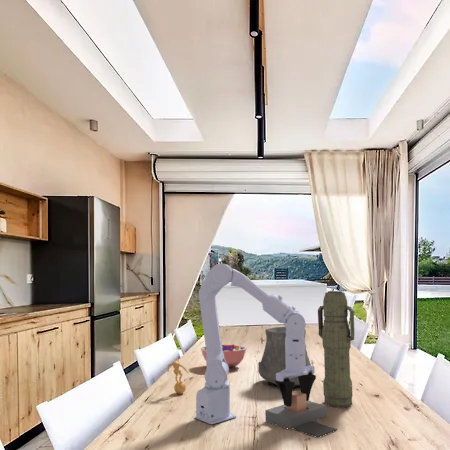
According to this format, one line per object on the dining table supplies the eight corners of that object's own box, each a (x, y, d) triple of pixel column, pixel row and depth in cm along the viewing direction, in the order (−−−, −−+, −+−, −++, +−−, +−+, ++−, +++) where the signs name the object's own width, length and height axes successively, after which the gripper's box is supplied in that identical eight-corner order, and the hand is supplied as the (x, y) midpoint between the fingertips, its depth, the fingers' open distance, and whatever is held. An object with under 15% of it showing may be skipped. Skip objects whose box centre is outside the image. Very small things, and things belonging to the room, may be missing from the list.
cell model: (247, 372, 185) (247, 344, 186) (199, 372, 185) (199, 344, 186) (246, 363, 202) (245, 337, 203) (201, 363, 202) (201, 337, 203)
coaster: (318, 438, 113) (318, 436, 113) (293, 429, 120) (293, 427, 120) (337, 430, 119) (337, 428, 119) (312, 422, 125) (312, 421, 125)
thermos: (324, 396, 149) (321, 290, 152) (360, 402, 143) (356, 291, 146) (315, 403, 142) (312, 291, 145) (352, 410, 135) (348, 292, 139)
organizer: (289, 429, 119) (289, 418, 120) (265, 421, 126) (265, 410, 126) (326, 416, 130) (326, 405, 130) (302, 409, 136) (302, 399, 137)
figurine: (193, 393, 154) (193, 357, 155) (184, 398, 149) (184, 361, 150) (172, 390, 158) (172, 355, 159) (163, 395, 152) (163, 359, 153)
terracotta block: (297, 422, 125) (297, 396, 126) (286, 418, 128) (286, 393, 129) (306, 419, 128) (306, 393, 128) (295, 415, 131) (295, 391, 131)
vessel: (292, 396, 150) (291, 335, 152) (246, 383, 167) (245, 328, 169) (331, 384, 165) (329, 329, 166) (285, 374, 181) (284, 323, 183)
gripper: (289, 359, 122) (290, 411, 121) (322, 352, 131) (323, 400, 130) (270, 356, 127) (271, 405, 126) (303, 349, 136) (304, 395, 135)
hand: (296, 402), depth 128 cm, fingers open, 7 cm apart
